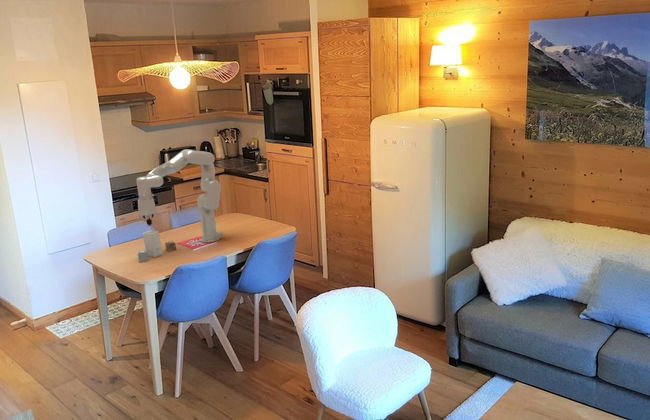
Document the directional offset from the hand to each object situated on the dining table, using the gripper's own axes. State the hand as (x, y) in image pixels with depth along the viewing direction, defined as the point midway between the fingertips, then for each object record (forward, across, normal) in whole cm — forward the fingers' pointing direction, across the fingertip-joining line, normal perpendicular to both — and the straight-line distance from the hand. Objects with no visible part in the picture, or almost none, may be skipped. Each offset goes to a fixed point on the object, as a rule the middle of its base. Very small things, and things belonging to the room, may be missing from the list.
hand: (149, 225), depth 349 cm
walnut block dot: (+20, -11, -5) cm, 23 cm away
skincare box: (+20, 0, 0) cm, 20 cm away
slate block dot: (+20, +7, +7) cm, 22 cm away
